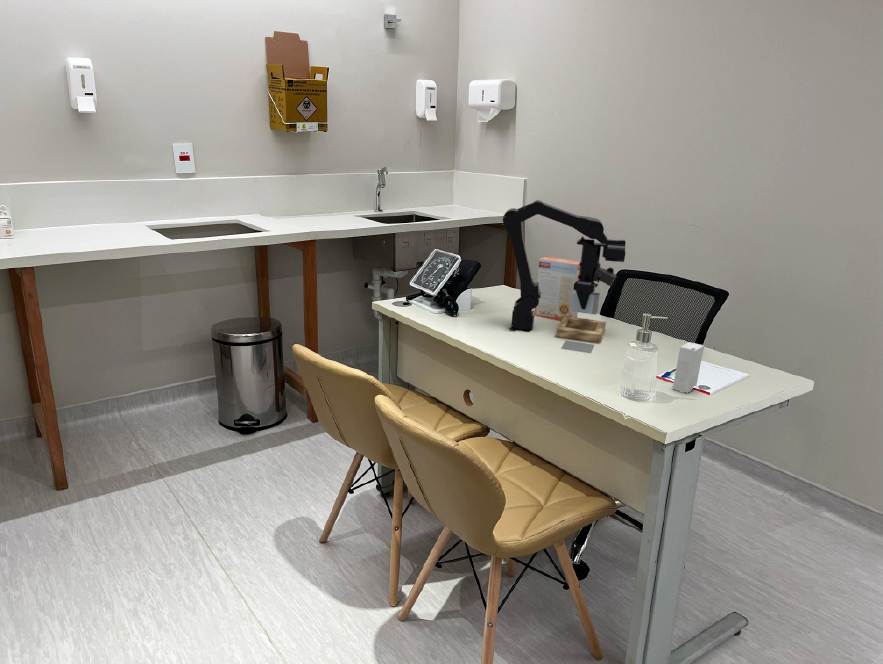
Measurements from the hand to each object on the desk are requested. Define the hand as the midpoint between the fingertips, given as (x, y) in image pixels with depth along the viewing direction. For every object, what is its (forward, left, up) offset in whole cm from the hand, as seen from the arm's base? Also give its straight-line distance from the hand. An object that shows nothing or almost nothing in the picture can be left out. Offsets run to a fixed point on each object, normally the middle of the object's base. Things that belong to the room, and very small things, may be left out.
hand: (584, 307), depth 221 cm
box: (0, 0, -1) cm, 1 cm away
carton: (0, 0, -9) cm, 9 cm away
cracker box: (-11, +16, -10) cm, 22 cm away
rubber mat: (+1, -14, -9) cm, 17 cm away
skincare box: (+32, -36, -10) cm, 49 cm away
